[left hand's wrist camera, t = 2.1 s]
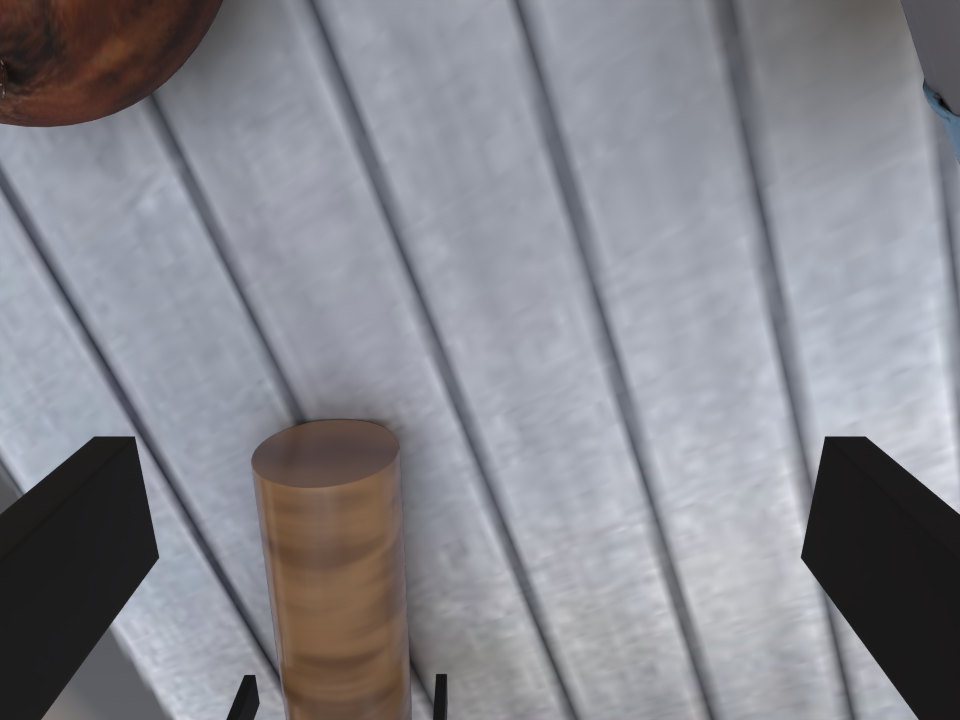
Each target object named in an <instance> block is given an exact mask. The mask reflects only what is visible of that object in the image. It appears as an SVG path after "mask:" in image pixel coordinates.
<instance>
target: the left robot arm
mask: <svg viewBox="0 0 960 720" xmlns="http://www.w3.org/2000/svg"><path fill="white" fill-rule="evenodd" d="M901 3H902V6H903V9H904V13H905V16H906V19H907V22H908V25H909V29H910V32H911V35H912V38H913V41H914V44H915V48H916V51H917V54H918V57H919V60H920V64H921V67H922V70H923V73H924V76H925V78H924V83H923V90H924V94H925V96H926V99H927V102H928V103H929V105H930V106H931V107H932V109H933V110H934V111H935V112H936V113H937V114H938V115H940V116H941V119H942V121H943V124H944V127H945V129H946V132H947V134H948V137H949V139H950V142H951V144H952V147H953V149H954V152H955V155H956V157H957V160H958V162H959V164H960V0H901ZM158 559H159V554H158V549H157V544H156V539H155V534H154V529H153V524H152V520H151V515H150V510H149V505H148V500H147V495H146V490H145V485H144V480H143V475H142V470H141V465H140V460H139V455H138V450H137V445H136V440H135V437H93V438H92V439H91V440H90V441H89V442H87V443H86V444H85V445H84V446H82V447H81V448H80V449H79V450H78V451H76V452H75V453H74V454H73V455H72V456H70V457H69V458H68V459H67V460H66V461H64V462H63V463H62V464H61V465H60V466H58V467H57V468H56V469H55V470H54V471H52V472H51V473H50V474H49V475H47V476H46V477H45V478H44V479H43V480H41V481H40V482H39V483H38V484H37V485H35V486H34V487H33V488H32V489H31V490H29V491H28V492H27V493H26V494H25V495H23V496H22V497H21V498H20V499H19V500H17V501H16V502H15V503H14V504H13V505H11V506H10V507H9V508H8V509H6V510H5V511H4V512H3V513H2V514H0V720H41V719H42V718H43V716H44V715H45V714H46V712H47V711H48V710H49V708H50V707H51V705H52V704H53V703H54V701H55V700H56V699H57V697H58V696H59V694H60V693H61V692H62V690H63V689H64V688H65V686H66V685H67V683H68V682H69V681H70V679H71V678H72V676H73V675H74V674H75V672H76V671H77V670H78V668H79V667H80V666H81V664H82V663H83V662H84V660H85V659H86V657H87V656H88V655H89V653H90V652H91V650H92V649H93V648H94V646H95V645H96V644H97V642H98V641H99V640H100V638H101V637H102V635H103V634H104V633H105V631H106V630H107V629H108V627H109V626H110V624H111V623H112V622H113V620H114V619H115V618H116V616H117V615H118V613H119V612H120V611H121V609H122V608H123V607H124V605H125V604H126V602H127V601H128V600H129V598H130V597H131V596H132V594H133V593H134V591H135V590H136V589H137V587H138V586H139V585H140V583H141V582H142V581H143V579H144V578H145V576H146V575H147V574H148V572H149V571H150V570H151V568H152V567H153V565H154V564H155V563H156V561H157V560H158ZM801 559H802V560H803V561H804V563H805V564H806V565H807V567H808V568H809V570H810V571H811V572H812V574H813V575H814V576H815V578H816V579H817V581H818V582H819V583H820V585H821V586H822V587H823V589H824V590H825V591H826V593H827V594H828V596H829V597H830V598H831V600H832V601H833V602H834V604H835V605H836V607H837V608H838V609H839V611H840V612H841V613H842V615H843V616H844V618H845V619H846V620H847V622H848V623H849V624H850V626H851V627H852V629H853V630H854V631H855V633H856V634H857V635H858V637H859V638H860V640H861V641H862V642H863V644H864V645H865V646H866V648H867V649H868V651H869V652H870V653H871V655H872V656H873V657H874V659H875V660H876V662H877V663H878V664H879V666H880V667H881V668H882V670H883V671H884V672H885V674H886V675H887V677H888V678H889V679H890V681H891V682H892V683H893V685H894V686H895V688H896V689H897V690H898V692H899V693H900V694H901V696H902V697H903V699H904V700H905V701H906V703H907V704H908V705H909V707H910V708H911V710H912V711H913V712H914V714H915V715H916V716H917V718H918V719H919V720H960V514H958V513H957V512H956V511H955V510H954V509H952V508H951V507H950V506H949V505H948V504H946V503H945V502H944V501H943V500H941V499H940V498H939V497H938V496H937V495H935V494H934V493H933V492H932V491H931V490H929V489H928V488H927V487H926V486H925V485H923V484H922V483H921V482H920V481H919V480H917V479H916V478H915V477H914V476H913V475H911V474H910V473H909V472H908V471H906V470H905V469H904V468H903V467H902V466H900V465H899V464H898V463H897V462H896V461H894V460H893V459H892V458H891V457H890V456H888V455H887V454H886V453H885V452H884V451H882V450H881V449H880V448H879V447H878V446H876V445H875V444H874V443H873V442H871V441H870V440H869V439H868V438H867V437H825V440H824V445H823V450H822V455H821V460H820V465H819V470H818V475H817V480H816V485H815V490H814V495H813V500H812V505H811V510H810V515H809V520H808V524H807V529H806V534H805V539H804V544H803V549H802V554H801Z"/></svg>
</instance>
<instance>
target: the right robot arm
mask: <svg viewBox="0 0 960 720" xmlns="http://www.w3.org/2000/svg"><path fill="white" fill-rule="evenodd" d="M447 703H448V702H447V674H436V686H435V700H434V715H433V720H447ZM259 704H260V702H259V696H258V690H257V683H256V677H255V675H244V678H243V680H242V683H241V685H240V688H239V690H238V692H237V695H236V697H235V700H234V702H233V705H232V707H231V710H230V712H229V715H228V717H227V720H254V718H255V715H256V712H257V710H258V707H259Z"/></svg>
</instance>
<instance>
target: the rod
mask: <svg viewBox="0 0 960 720" xmlns="http://www.w3.org/2000/svg"><path fill="white" fill-rule="evenodd" d="M251 465H252V472H253V480H254V487H255V495H256V502H257V509H258V517H259V524H260V532H261V539H262V546H263V554H264V561H265V569H266V576H267V583H268V591H269V598H270V606H271V613H272V620H273V628H274V635H275V643H276V650H277V657H278V665H279V672H280V680H281V687H282V695H283V702H284V709H285V717H286V720H412V702H411V681H410V660H409V638H408V617H407V596H406V574H405V553H404V532H403V510H402V489H401V468H400V447H399V442H398V440H397V438H396V437H395V435H394V434H393V433H392V432H390V431H389V430H387V429H386V428H384V427H381V426H379V425H376V424H373V423H369V422H365V421H358V420H344V419H338V420H323V421H315V422H310V423H305V424H301V425H297V426H294V427H291V428H288V429H286V430H283V431H281V432H279V433H276V434H274V435H273V436H271V437H269V438H268V439H266V440H265V441H264V442H262V443H261V444H260V445H259V446H258V447H257V449H256V450H255V452H254V453H253V456H252V459H251Z"/></svg>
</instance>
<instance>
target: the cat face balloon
mask: <svg viewBox="0 0 960 720" xmlns="http://www.w3.org/2000/svg"><path fill="white" fill-rule="evenodd" d="M222 1H223V0H0V123H2V124H9V125H17V126H25V127H55V126H66V125H74V124H79V123H83V122H88V121H93V120H96V119H99V118H102V117H105V116H108V115H111V114H114V113H117V112H119V111H121V110H123V109H125V108H127V107H129V106H132V105H134V104H135V103H137V102H138V101H140V100H142V99H143V98H145V97H147V96H148V95H150V94H151V93H152V92H154V91H155V90H156V89H157V88H159V87H160V86H161V85H163V84H164V83H165V82H166V81H167V80H168V79H169V78H170V77H171V76H172V75H173V74H174V73H175V72H176V71H177V70H179V69H180V68H181V66H182V65H183V64H184V63H185V61H186V60H187V59H188V58H189V57H190V55H191V54H192V53H193V52H194V50H195V49H196V48H197V46H198V45H199V43H200V42H201V40H202V39H203V37H204V36H205V34H206V33H207V31H208V29H209V27H210V26H211V24H212V22H213V20H214V18H215V16H216V14H217V12H218V10H219V8H220V6H221V3H222Z"/></svg>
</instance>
